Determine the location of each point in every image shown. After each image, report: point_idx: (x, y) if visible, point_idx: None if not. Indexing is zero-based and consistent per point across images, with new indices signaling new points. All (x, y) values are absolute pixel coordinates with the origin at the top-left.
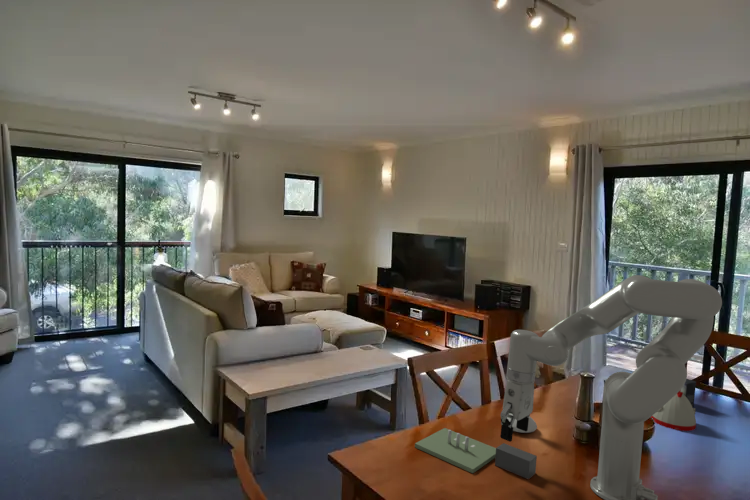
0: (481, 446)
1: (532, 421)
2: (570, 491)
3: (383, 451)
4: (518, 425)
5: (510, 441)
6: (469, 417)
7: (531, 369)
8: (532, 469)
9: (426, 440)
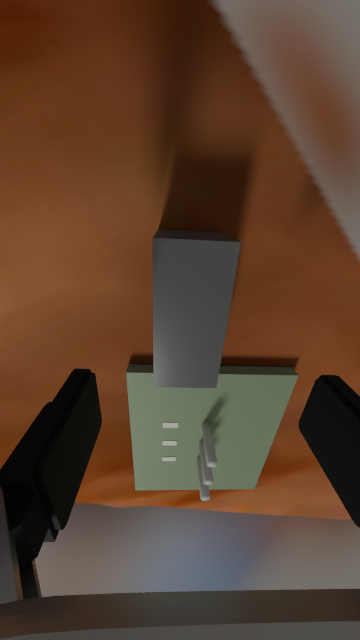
0: (153, 412)
1: None
2: (195, 8)
3: (302, 495)
4: (93, 431)
5: (335, 376)
6: None
7: None
8: (191, 233)
9: (225, 484)
